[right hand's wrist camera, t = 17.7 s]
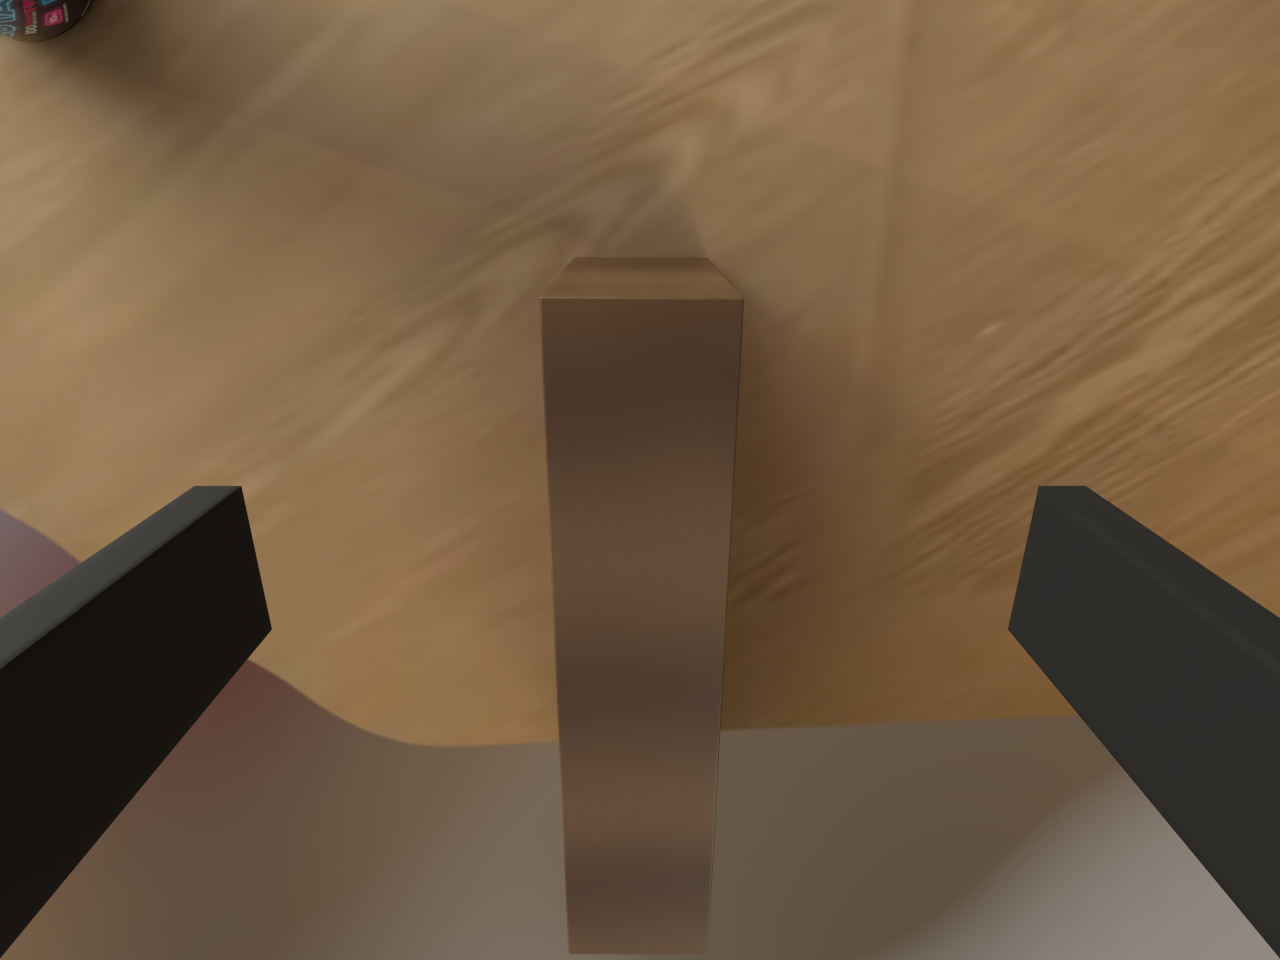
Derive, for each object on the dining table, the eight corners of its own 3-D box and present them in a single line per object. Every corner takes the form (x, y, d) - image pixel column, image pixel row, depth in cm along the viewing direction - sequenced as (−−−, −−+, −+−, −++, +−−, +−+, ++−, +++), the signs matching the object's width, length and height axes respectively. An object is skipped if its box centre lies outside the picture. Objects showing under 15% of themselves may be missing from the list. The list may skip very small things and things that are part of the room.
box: (573, 257, 32) (539, 296, 21) (708, 258, 32) (744, 297, 21) (587, 750, 42) (568, 954, 31) (690, 751, 42) (707, 955, 31)
